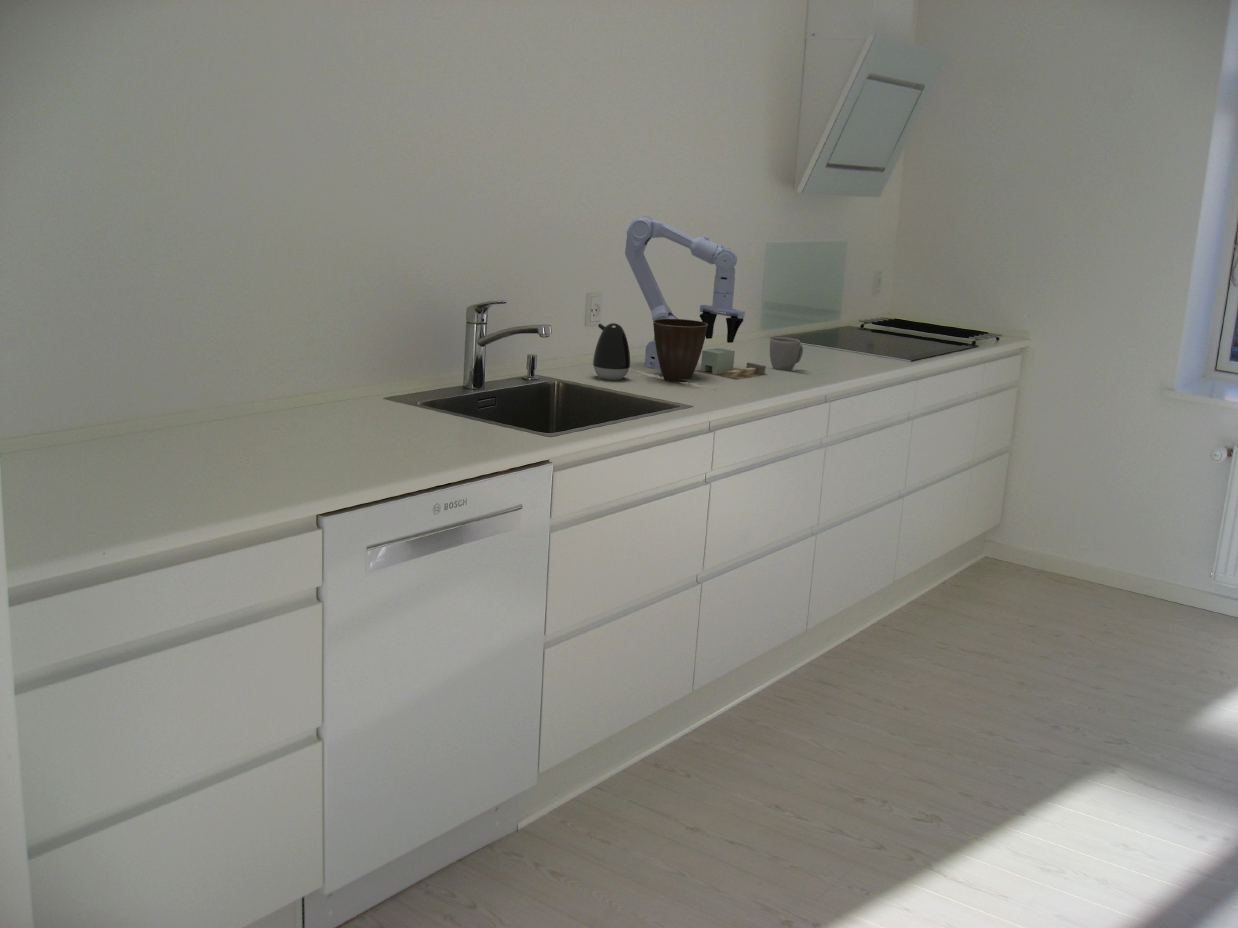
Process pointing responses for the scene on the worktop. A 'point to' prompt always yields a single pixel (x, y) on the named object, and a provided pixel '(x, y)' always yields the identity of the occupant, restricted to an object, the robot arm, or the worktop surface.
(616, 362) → the pump dispenser
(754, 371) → the cleat board
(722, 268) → the robot arm
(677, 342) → the plant pot
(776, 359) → the mug
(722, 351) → the cabinet block
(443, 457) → the worktop surface
